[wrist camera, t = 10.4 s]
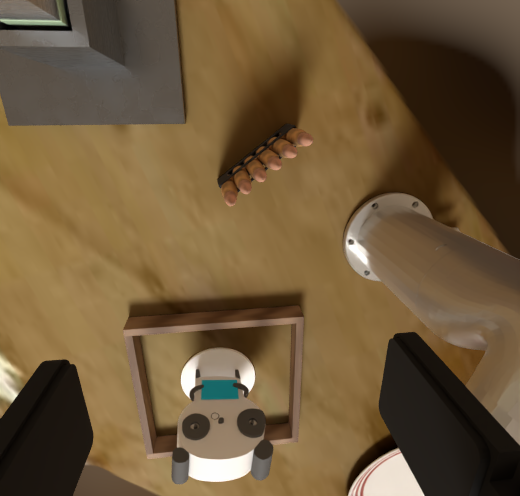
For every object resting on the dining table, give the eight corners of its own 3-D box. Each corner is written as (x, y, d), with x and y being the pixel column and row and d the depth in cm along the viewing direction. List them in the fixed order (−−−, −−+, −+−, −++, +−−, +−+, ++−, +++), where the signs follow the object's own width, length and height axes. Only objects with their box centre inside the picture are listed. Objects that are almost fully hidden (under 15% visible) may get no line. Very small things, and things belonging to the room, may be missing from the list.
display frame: (299, 305, 48) (303, 316, 46) (294, 426, 57) (298, 442, 54) (128, 317, 46) (122, 330, 43) (151, 441, 55) (147, 459, 52)
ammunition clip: (287, 122, 39) (314, 124, 28) (296, 135, 40) (325, 142, 29) (217, 179, 41) (216, 202, 29) (226, 191, 41) (229, 218, 30)
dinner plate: (318, 512, 67) (323, 531, 64) (387, 414, 59) (396, 430, 56) (426, 529, 74) (435, 547, 71) (500, 443, 66) (514, 459, 63)
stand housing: (168, -81, 31) (143, -184, 21) (185, 123, 38) (173, 125, 27) (-40, -92, 29) (-186, -212, 19) (16, 125, 36) (-68, 128, 25)
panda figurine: (262, 348, 50) (279, 435, 37) (254, 405, 54) (267, 503, 41) (182, 346, 49) (167, 437, 35) (180, 405, 53) (166, 508, 39)
